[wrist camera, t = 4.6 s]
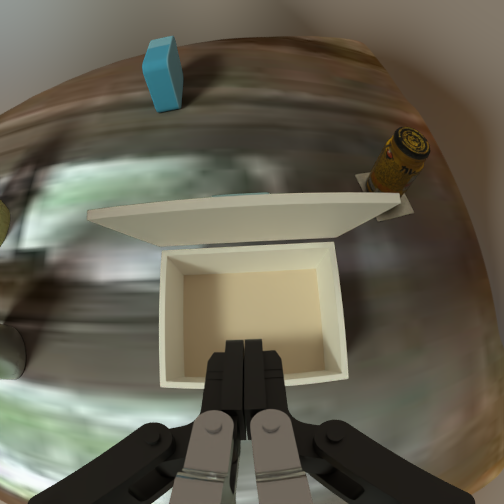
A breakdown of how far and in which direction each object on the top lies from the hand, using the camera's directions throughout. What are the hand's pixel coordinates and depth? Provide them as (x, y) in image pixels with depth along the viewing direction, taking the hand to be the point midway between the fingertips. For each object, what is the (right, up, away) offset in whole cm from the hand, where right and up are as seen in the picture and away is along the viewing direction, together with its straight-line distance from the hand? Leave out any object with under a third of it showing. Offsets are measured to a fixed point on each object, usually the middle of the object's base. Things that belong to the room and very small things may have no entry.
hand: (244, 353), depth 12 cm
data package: (-16, +35, +38) cm, 54 cm away
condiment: (+21, +13, +29) cm, 38 cm away
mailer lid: (0, +6, +10) cm, 12 cm away
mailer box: (0, -4, +23) cm, 23 cm away
